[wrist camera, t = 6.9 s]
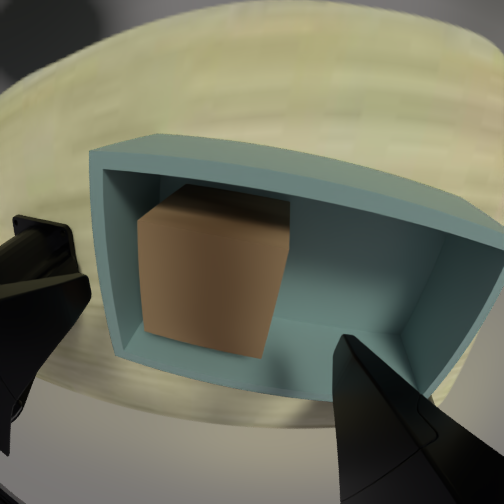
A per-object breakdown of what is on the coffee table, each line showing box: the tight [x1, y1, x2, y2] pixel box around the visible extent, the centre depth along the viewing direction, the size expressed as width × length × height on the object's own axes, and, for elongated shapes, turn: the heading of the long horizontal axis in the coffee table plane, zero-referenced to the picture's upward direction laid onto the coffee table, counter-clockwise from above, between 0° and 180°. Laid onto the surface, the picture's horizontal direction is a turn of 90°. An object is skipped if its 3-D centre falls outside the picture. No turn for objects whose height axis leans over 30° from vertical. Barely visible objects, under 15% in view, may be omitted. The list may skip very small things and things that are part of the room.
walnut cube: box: [137, 184, 290, 359], centre depth 12 cm, size 5×5×5 cm
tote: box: [89, 134, 504, 402], centre depth 12 cm, size 16×10×6 cm, turn 81°
